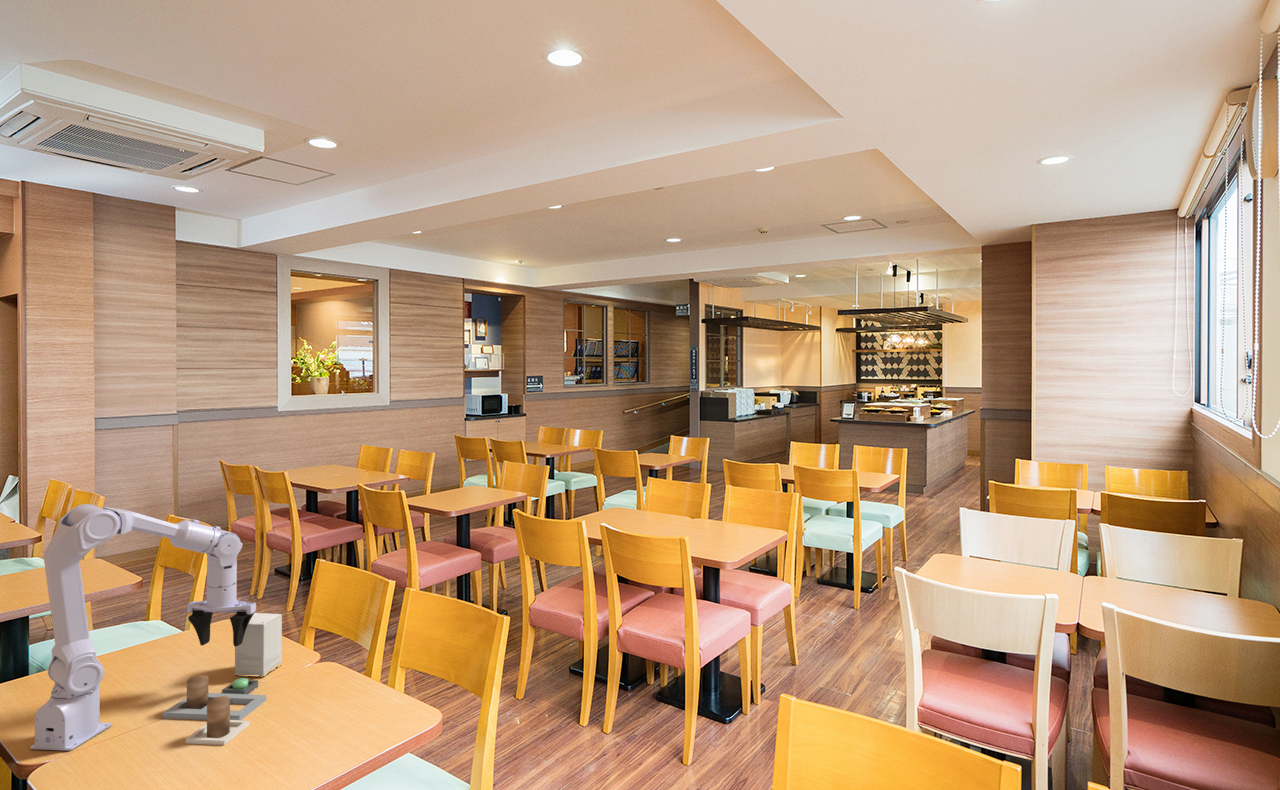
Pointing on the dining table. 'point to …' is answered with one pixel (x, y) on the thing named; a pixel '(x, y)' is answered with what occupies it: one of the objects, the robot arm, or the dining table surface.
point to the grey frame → (201, 714)
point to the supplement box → (260, 645)
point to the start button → (240, 683)
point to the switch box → (251, 686)
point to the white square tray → (201, 738)
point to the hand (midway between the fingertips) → (221, 644)
